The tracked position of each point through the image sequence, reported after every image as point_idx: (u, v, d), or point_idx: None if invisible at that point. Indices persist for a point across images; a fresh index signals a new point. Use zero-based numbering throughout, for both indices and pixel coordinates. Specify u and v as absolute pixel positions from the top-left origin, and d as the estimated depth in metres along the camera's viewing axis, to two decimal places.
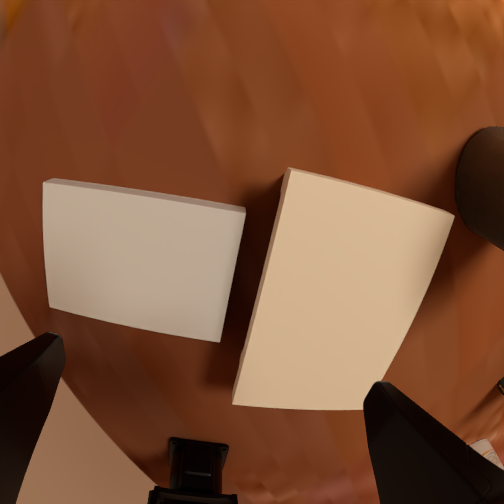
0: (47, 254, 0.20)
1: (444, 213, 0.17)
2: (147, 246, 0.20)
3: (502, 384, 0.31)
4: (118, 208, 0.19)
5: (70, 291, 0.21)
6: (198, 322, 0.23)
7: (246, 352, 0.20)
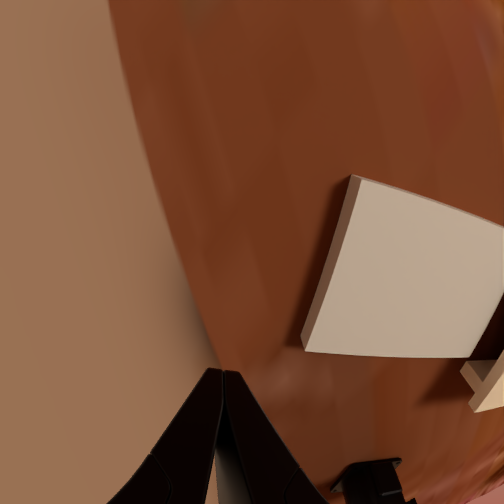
0: (336, 281, 0.16)
1: None
2: (458, 268, 0.17)
3: None
4: (447, 226, 0.15)
5: (350, 327, 0.18)
6: (464, 340, 0.19)
7: None
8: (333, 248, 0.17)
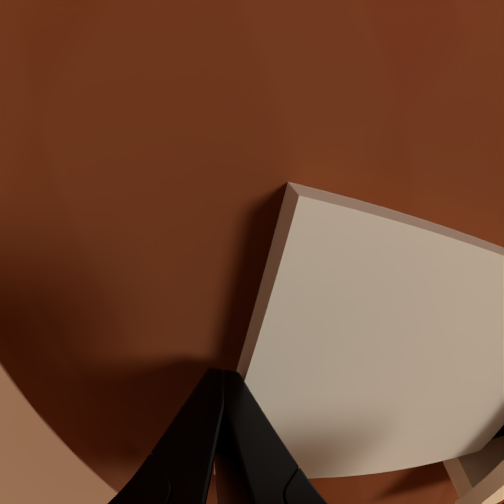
0: None
1: None
2: (492, 355, 0.08)
3: None
4: (488, 289, 0.07)
5: None
6: (478, 437, 0.11)
7: None
8: (249, 335, 0.08)
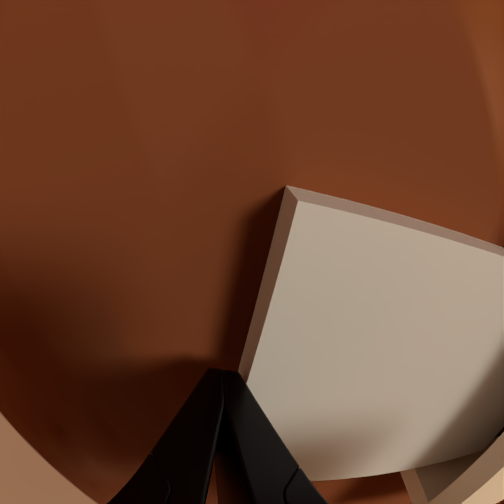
0: None
1: None
2: (493, 356, 0.08)
3: None
4: (489, 290, 0.07)
5: None
6: (480, 437, 0.10)
7: (474, 491, 0.07)
8: (250, 340, 0.08)
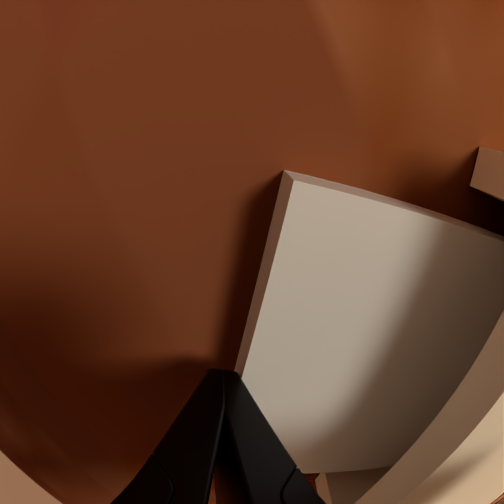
0: (251, 389, 0.08)
1: None
2: None
3: None
4: (488, 276, 0.07)
5: (289, 447, 0.09)
6: None
7: None
8: (248, 324, 0.08)
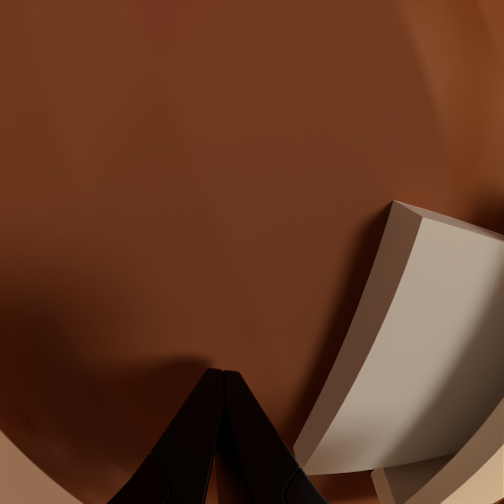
0: (355, 398, 0.08)
1: None
2: None
3: None
4: None
5: (371, 446, 0.09)
6: None
7: (440, 502, 0.07)
8: (353, 340, 0.09)
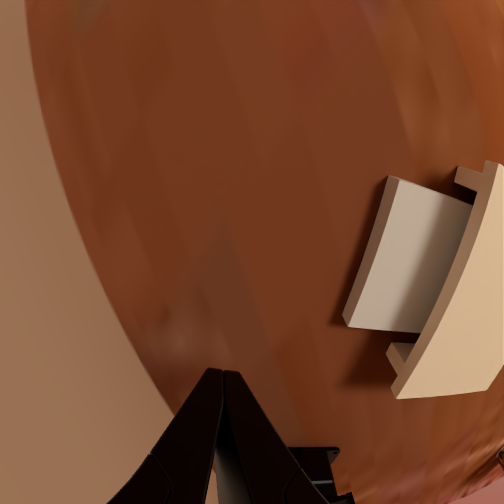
0: (377, 264, 0.19)
1: None
2: None
3: None
4: (464, 219, 0.18)
5: (386, 305, 0.20)
6: None
7: (430, 340, 0.18)
8: (374, 237, 0.19)
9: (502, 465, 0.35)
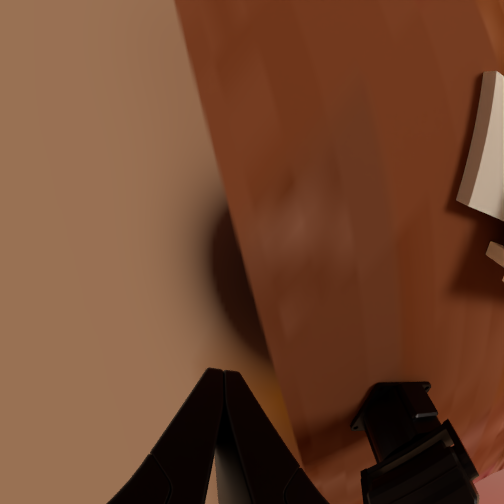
0: (488, 142, 0.16)
1: None
2: None
3: None
4: None
5: (495, 188, 0.17)
6: None
7: None
8: (480, 120, 0.16)
9: None
